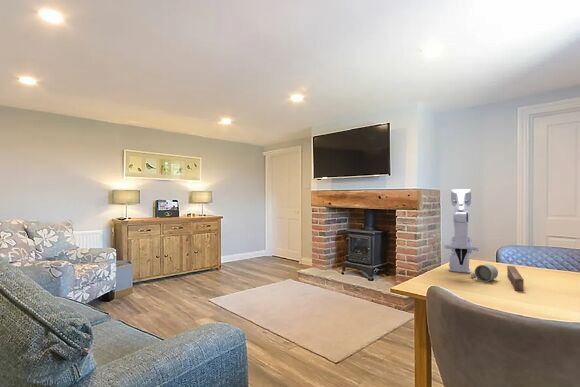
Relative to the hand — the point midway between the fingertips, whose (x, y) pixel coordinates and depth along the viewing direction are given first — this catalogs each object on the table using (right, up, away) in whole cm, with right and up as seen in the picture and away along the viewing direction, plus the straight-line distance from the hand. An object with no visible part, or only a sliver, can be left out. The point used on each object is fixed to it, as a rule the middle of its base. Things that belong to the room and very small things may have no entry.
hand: (461, 264), depth 157 cm
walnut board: (+19, -6, -10) cm, 22 cm away
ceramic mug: (+8, -7, -4) cm, 11 cm away
